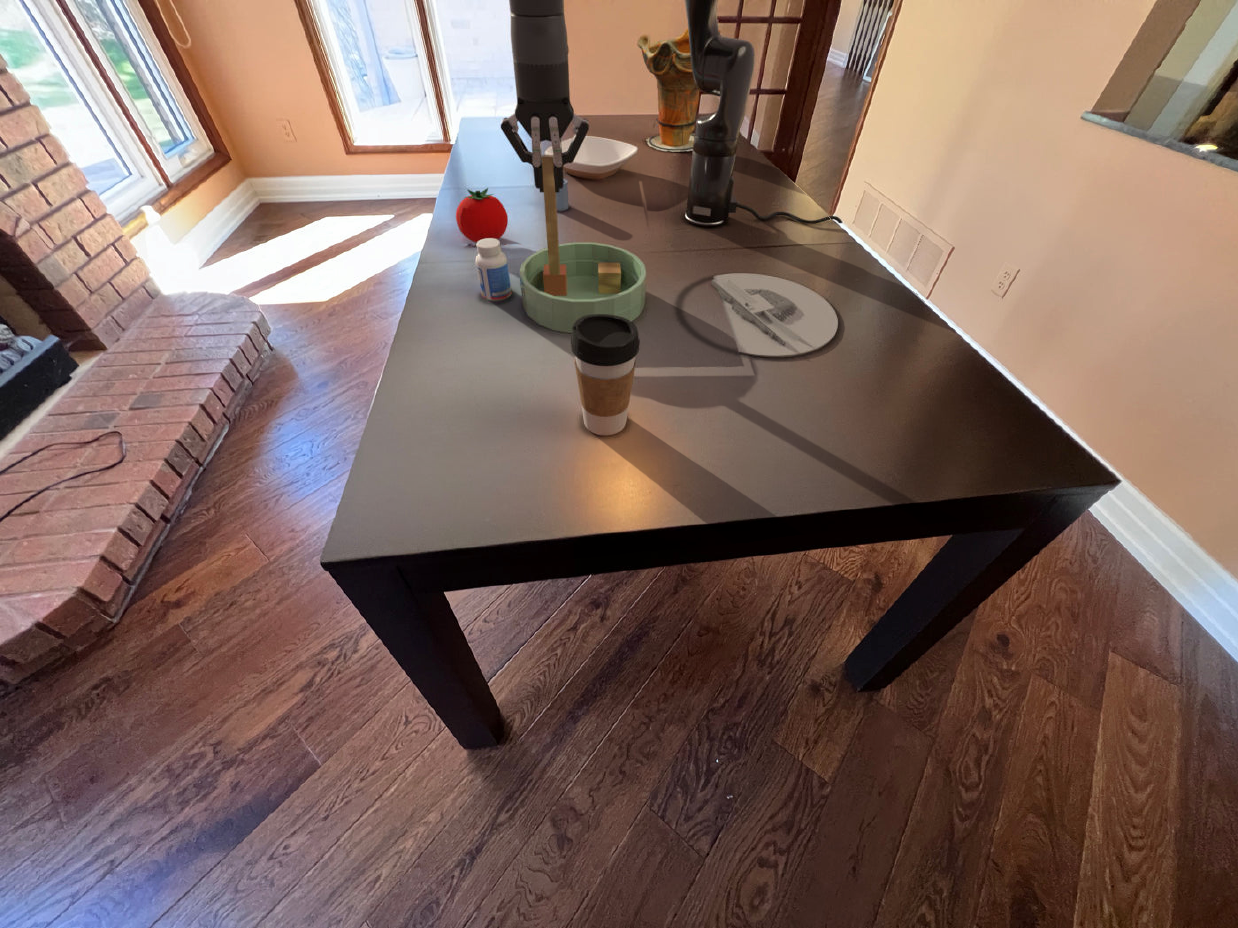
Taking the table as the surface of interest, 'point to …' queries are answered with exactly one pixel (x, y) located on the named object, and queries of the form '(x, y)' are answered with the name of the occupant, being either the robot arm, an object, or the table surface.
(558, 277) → the block
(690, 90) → the decorative vase
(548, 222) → the stick
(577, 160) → the bowl
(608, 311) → the stir bowl
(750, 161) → the table surface
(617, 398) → the coffee cup
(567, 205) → the stick holder
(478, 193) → the tomato
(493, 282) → the pill bottle
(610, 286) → the block
